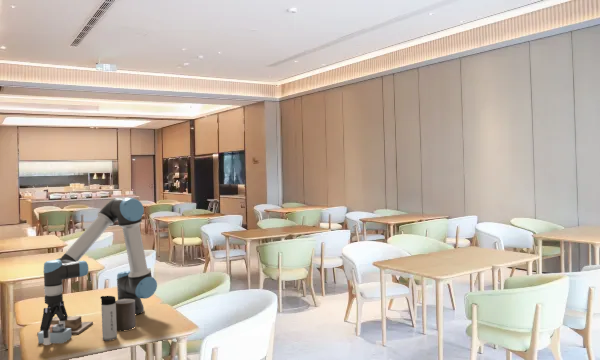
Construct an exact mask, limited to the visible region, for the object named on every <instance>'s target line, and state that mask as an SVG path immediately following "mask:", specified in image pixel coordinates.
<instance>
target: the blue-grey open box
mask: <svg viewBox="0 0 600 360" xmlns="http://www.w3.org/2000/svg"><path fill="white" fill-rule="evenodd" d="M38 332H39V331H38ZM38 332H37V333H38ZM71 337H73V336H72V335H71V328H64V332H53V333H50V342H51V344H64V342H65V343H66V342H68V341H69V340H71V339H72V338H71ZM70 338H71V339H70ZM37 339H38V340H37V341H38V344H44V336H43V331H41V332H39V333H38V335H37ZM67 340H68V341H67Z"/></svg>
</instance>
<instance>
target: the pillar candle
mask: <svg viewBox="0 0 600 360" xmlns="http://www.w3.org/2000/svg"><path fill="white" fill-rule="evenodd" d="M115 301H116V324H117V332H125V331H124V330H129V329H132V328H134V327H135V328H136V315H135V300H134V299H121V300H118V299H117V300H115ZM135 328H134V329H135ZM132 330H133V329H132ZM129 331H130V330H129Z"/></svg>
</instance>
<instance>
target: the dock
mask: <svg viewBox="0 0 600 360" xmlns="http://www.w3.org/2000/svg"><path fill="white" fill-rule="evenodd" d="M67 316H68V315H67ZM59 321H61V320H59V318H58V316H54V317H53V319H52V322H51V325H55V324H59ZM93 324H94V322H93V321H82V316H81V315H79V316H76V315H73V316H68V317H67V320H65V328H71V335H73V334H77V335H80V334H81V333H83V332H84V331H85V330H87V329H89V327H91V326H93ZM39 332H41V331H40V330H39V331H38V332H37V334H36V335H37V336H38V333H39Z"/></svg>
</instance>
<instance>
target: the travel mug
mask: <svg viewBox="0 0 600 360" xmlns="http://www.w3.org/2000/svg"><path fill="white" fill-rule="evenodd" d="M100 299H101V303H100V304H101V327H102V328H101V330H102V331H101V332H102V341H104V340H105V342H110V341H109V340H111V341H114V340H113V339H115V340H116V339H117V338H118V333H117V332H118V331H117V324H116V301H117V300H116V297H115V296H113V295H102V296H100Z"/></svg>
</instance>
